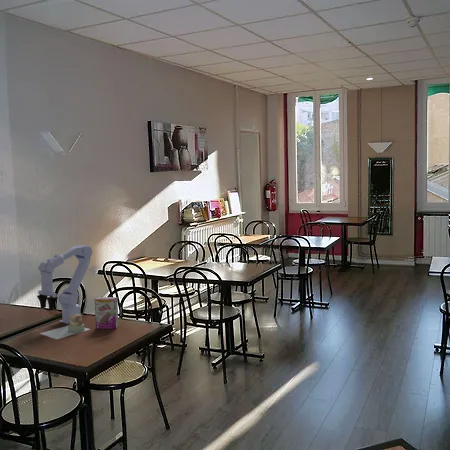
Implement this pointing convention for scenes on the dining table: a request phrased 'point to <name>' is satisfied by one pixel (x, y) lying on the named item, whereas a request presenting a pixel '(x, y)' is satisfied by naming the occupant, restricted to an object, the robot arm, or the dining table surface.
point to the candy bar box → (106, 312)
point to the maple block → (75, 320)
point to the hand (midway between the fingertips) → (47, 309)
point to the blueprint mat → (60, 332)
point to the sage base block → (76, 328)
